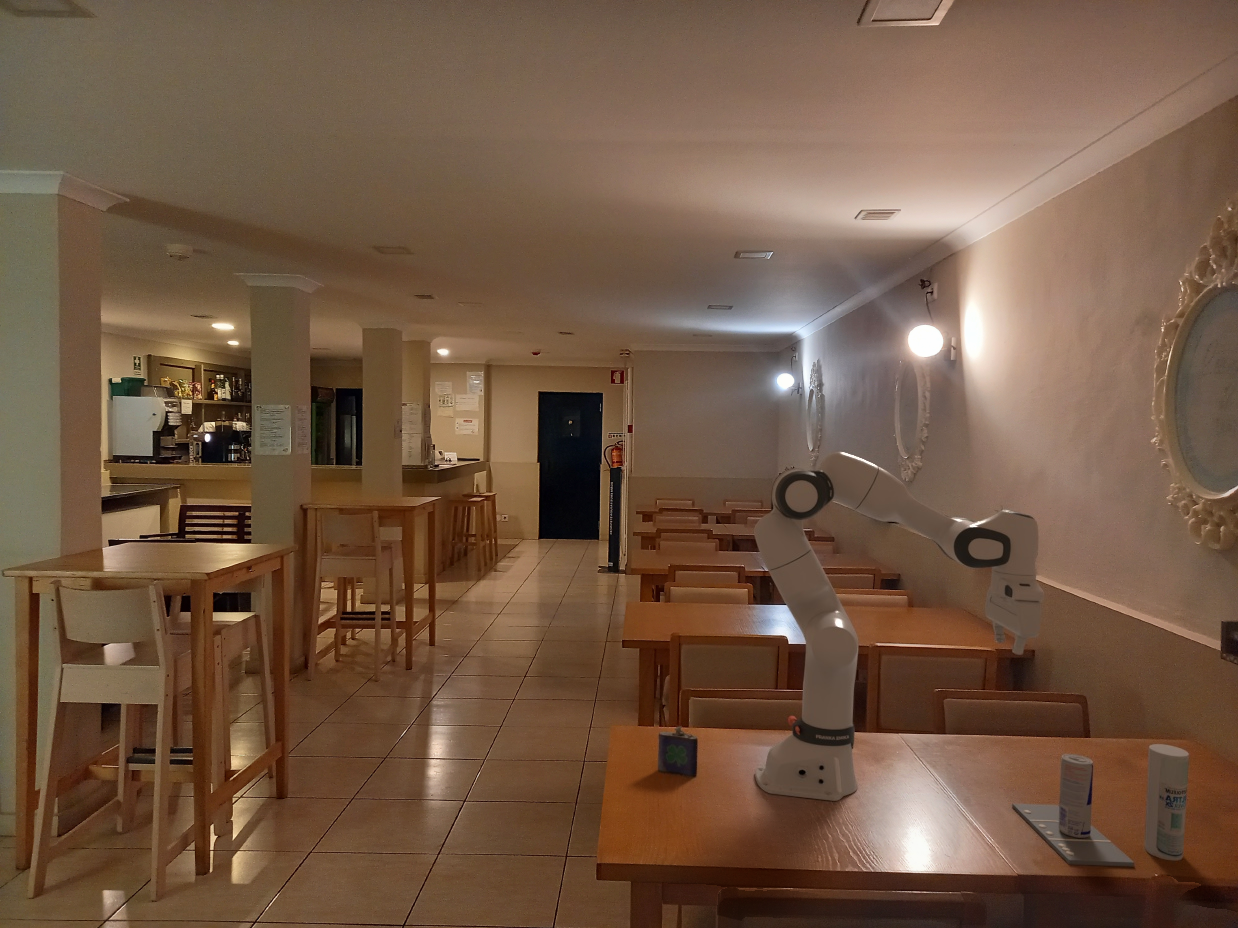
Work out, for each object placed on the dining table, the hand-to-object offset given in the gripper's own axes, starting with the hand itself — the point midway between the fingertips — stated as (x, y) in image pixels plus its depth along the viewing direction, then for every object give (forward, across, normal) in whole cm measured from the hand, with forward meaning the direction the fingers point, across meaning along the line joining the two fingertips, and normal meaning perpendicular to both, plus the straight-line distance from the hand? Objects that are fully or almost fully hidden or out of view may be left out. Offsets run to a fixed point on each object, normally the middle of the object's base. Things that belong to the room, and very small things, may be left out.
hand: (1008, 647), depth 186 cm
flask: (+35, -5, -70) cm, 79 cm away
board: (+33, +17, +7) cm, 38 cm away
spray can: (+33, +23, +22) cm, 46 cm away
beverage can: (+32, +18, +8) cm, 38 cm away
